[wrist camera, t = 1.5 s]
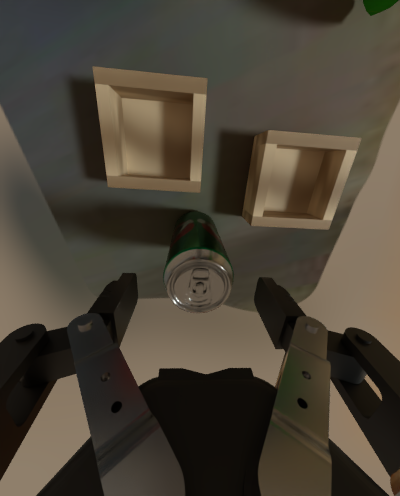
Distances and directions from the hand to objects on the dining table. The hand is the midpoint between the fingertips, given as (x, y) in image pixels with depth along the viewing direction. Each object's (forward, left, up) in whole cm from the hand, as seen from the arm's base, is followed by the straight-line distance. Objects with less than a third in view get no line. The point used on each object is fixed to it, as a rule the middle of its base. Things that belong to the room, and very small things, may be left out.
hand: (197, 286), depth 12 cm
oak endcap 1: (-9, -4, -12) cm, 16 cm away
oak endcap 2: (-6, +10, -12) cm, 17 cm away
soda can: (0, 0, -12) cm, 12 cm away
